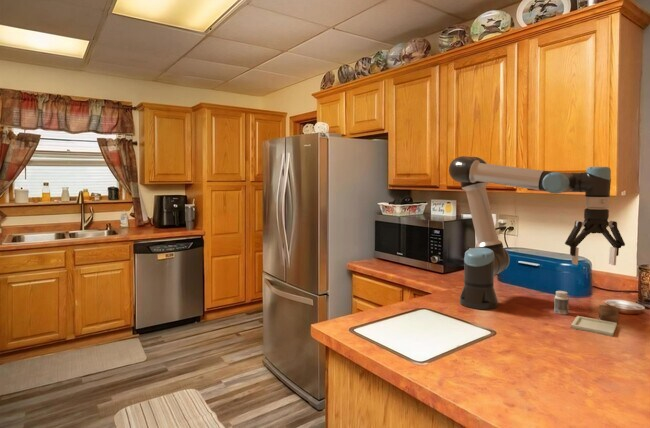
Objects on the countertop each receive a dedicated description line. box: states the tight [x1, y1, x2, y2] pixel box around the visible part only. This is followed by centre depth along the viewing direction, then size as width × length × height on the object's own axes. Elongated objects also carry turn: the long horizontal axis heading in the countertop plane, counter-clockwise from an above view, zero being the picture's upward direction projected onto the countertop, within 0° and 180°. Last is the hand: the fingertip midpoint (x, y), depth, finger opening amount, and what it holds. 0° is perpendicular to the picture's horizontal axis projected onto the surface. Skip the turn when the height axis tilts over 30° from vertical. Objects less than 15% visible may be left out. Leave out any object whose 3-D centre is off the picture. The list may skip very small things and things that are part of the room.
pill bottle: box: [553, 290, 570, 315], centre depth 152 cm, size 5×5×8 cm
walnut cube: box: [598, 304, 620, 325], centre depth 143 cm, size 5×5×5 cm
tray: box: [570, 315, 618, 337], centre depth 137 cm, size 12×12×1 cm
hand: (593, 264), depth 146 cm, fingers open, 13 cm apart
